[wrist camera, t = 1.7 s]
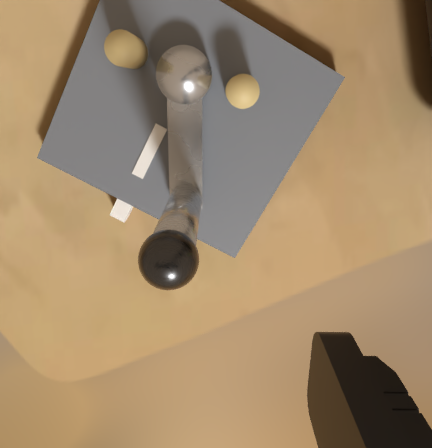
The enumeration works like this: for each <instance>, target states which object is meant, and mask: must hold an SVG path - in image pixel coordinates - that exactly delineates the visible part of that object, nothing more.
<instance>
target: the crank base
mask: <svg viewBox="0 0 432 448" xmlns="http://www.w3.org/2000/svg"><path fill="white" fill-rule="evenodd" d="M177 45H189V46H192V47H195V48H197V49H198V50H200V51H201V52H202V53H203V54H204V55H205V56H206V58H207V59H208V61H209V63H210V66H211V69H212V82H211V86H210V88H209V90H208V92H207V93H206V94H205V96H204V97H203V207H202V209H201V213H200V220H199V227H198V234H197V239H198V240H200V241H202V242H204V243H206V244H208V245H210V246H212V247H214V248H216V249H218V250H220V251H222V252H224V253H226V254H228V255H230V256H232V257H234V258H235V257H236V255H237V254H238V252H239V250H240V249H241V247H242V245H243V244H244V242H245V240H246V239H247V237H248V235H249V234H250V232H251V231H252V229H253V227H254V226H255V224H256V222H257V221H258V219H259V217H260V216H261V214H262V213H263V211H264V209H265V208H266V206H267V204H268V203H269V201H270V199H271V198H272V196H273V194H274V193H275V191H276V190H277V188H278V186H279V185H280V183H281V181H282V180H283V178H284V176H285V175H286V173H287V172H288V170H289V168H290V167H291V165H292V163H293V162H294V160H295V158H296V157H297V155H298V154H299V152H300V150H301V149H302V147H303V145H304V144H305V142H306V140H307V139H308V137H309V135H310V134H311V132H312V131H313V129H314V127H315V126H316V124H317V122H318V121H319V119H320V117H321V116H322V114H323V113H324V111H325V109H326V108H327V106H328V104H329V103H330V101H331V99H332V98H333V96H334V94H335V93H336V91H337V90H338V88H339V86H340V85H341V83H342V81H343V80H344V78H345V77H344V76H342V75H340V74H339V73H337V72H335V71H334V70H332V69H331V68H329V67H327V66H326V65H324V64H322V63H321V62H319V61H318V60H316V59H314V58H313V57H311V56H309V55H308V54H306V53H304V52H303V51H301V50H300V49H298V48H296V47H295V46H293V45H291V44H290V43H288V42H286V41H285V40H283V39H282V38H280V37H278V36H277V35H275V34H273V33H272V32H270V31H269V30H267V29H265V28H264V27H262V26H260V25H259V24H257V23H255V22H254V21H252V20H251V19H249V18H247V17H246V16H244V15H242V14H241V13H239V12H237V11H236V10H234V9H233V8H231V7H229V6H228V5H226V4H224V3H223V2H221V1H220V0H100V1H99V4H98V6H97V9H96V11H95V14H94V16H93V19H92V21H91V24H90V26H89V29H88V31H87V34H86V36H85V39H84V41H83V44H82V46H81V49H80V51H79V54H78V56H77V59H76V61H75V64H74V66H73V69H72V71H71V74H70V76H69V79H68V81H67V84H66V86H65V89H64V91H63V94H62V96H61V99H60V102H59V104H58V107H57V109H56V112H55V114H54V117H53V119H52V122H51V124H50V127H49V129H48V132H47V134H46V137H45V139H44V142H43V144H42V147H41V149H40V152H39V154H38V157H37V158H38V159H40V160H42V161H44V162H46V163H48V164H50V165H52V166H54V167H56V168H58V169H60V170H62V171H64V172H66V173H68V174H70V175H72V176H74V177H76V178H78V179H80V180H82V181H84V182H86V183H88V184H90V185H92V186H94V187H96V188H98V189H100V190H102V191H104V192H106V193H108V194H110V195H112V196H114V197H116V198H117V200H116V202H115V205H114V207H113V209H112V211H111V213H110V216H112V217H114V218H116V219H118V220H120V221H122V222H125V221H126V220H127V218H128V217H129V215H130V213H131V211H132V209H133V207H135V208H137V209H139V210H141V211H143V212H145V213H147V214H149V215H151V216H153V217H155V218H157V219H160V217H161V215H162V213H163V210H164V208H165V206H166V204H167V201H168V199H169V197H170V190H169V155H168V120H167V97H166V96H165V95H164V94H163V93H162V92H161V90H160V88H159V86H158V84H157V80H156V68H157V64H158V62H159V59H160V58H161V56H162V55H163V54H164V53H165V52H166V51H167V50H168V49H170V48H172V47H174V46H177Z"/></svg>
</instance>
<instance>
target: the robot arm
mask: <svg viewBox="0 0 432 448" xmlns="http://www.w3.org/2000/svg"><path fill="white" fill-rule="evenodd" d="M307 397H308V408H309V415H310V420H311V423H312V426H313V430H314V434H315V437H316V441H317V445H318V448H432V429H431V428H430V426H429V425H428V423H427V422H426V420H425V418H424V417H423V415H422V414H421V413H419V409H418V407H417V406H416V404H415V403H414V401H413V399H412V398H411V396H409V395H408V392H407V390H406V388H405V386H404V385H403V383H402V382H401V380H400V378H399V377H398V375H397V374H396V372H394V371H393V370H392V369H391V368H390V367H389V366H387V365H386V364H385V363H384V362H382V361H381V360H380V359H379V358H378V357H376V356H363V354H362V353H361V351H360V349H359V347H358V346H357V343H356V342H355V340H354V338H353V336H352V335H351V334H350V333H348V332H316V333H315V334H314V336H313V341H312V351H311V360H310V370H309V380H308V393H307Z"/></svg>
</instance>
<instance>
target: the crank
mask: <svg viewBox="0 0 432 448" xmlns="http://www.w3.org/2000/svg"><path fill="white" fill-rule="evenodd" d="M156 80H157V84H158V86H159V88H160V90H161V92H162V93H163V94H164V95H165V96H166V97H167V120H168V155H169V190H170V197H169V199H168V201H167V204H166V206H165V208H164V210H163V213H162V215H161V217H160V219H159V222H158V224H157V226H156V228H155V231H154V233H153V234H152V235H151V236H149V237H148V238H147V239H146V240H145V242H144V243H143V245H142V246H141V248H140V252H139V256H138V264H139V269H140V272H141V274H142V276H143V277H144V279H145V280H146V281H147V282H148V283H149V284H151V285H152V286H154V287H156V288H158V289H162V290H174V289H178V288H181V287H183V286H184V285H186V284H187V283H188V282H190V281H191V280H192V278H193V277H194V275H195V274H196V271H197V269H198V265H199V254H198V250H197V248H196V241H197V234H198V227H199V220H200V213H201V209H202V207H203V97H204V96H205V94H206V93H207V92H208V90H209V88H210V86H211V82H212V69H211V66H210V63H209V61H208V59H207V58H206V56H205V55H204V54H203V53H202V52H201V51H200V50H198V49H197V48H195V47H192V46H189V45H177V46H174V47H172V48H170V49H168V50H167V51H166V52H165V53H164V54H163V55H162V56H161V58H160V59H159V62H158V64H157V68H156Z"/></svg>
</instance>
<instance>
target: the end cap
mask: <svg viewBox="0 0 432 448" xmlns="http://www.w3.org/2000/svg"><path fill="white" fill-rule="evenodd" d="M425 4H426V13H427V22H428V30H429V39H430V48H431V57H432V0H425Z"/></svg>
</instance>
